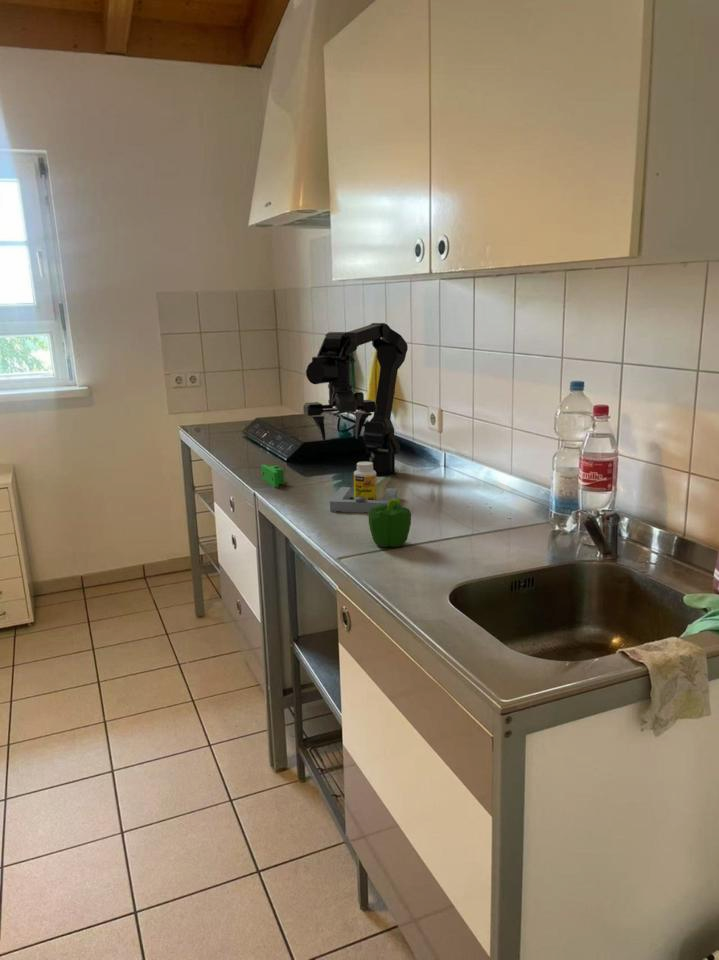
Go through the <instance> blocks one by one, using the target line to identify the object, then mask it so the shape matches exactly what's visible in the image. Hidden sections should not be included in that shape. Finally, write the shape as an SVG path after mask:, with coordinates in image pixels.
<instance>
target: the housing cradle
mask: <svg viewBox="0 0 719 960" xmlns="http://www.w3.org/2000/svg"><path fill="white" fill-rule="evenodd" d="M351 490H352V489H351V487H350V486H349V487H347V486H343V487H340V488H339V489H338V490H337V491H336V493H335V494H334V495H333V497H332V498H331V499H330V500H329V511H335V512H336V511H342V512H341V513H364V512H370V509H372V508H376V507H377V506H378V505H380V504H385V505H388V503H389V501H390V500H392V499H398V488H396V487H395V488H388V487H387V489H386V490H385V492H384V494H383V496H382V498H381V500H377V499H376V500H366V498H365V497H356V500H354V499H350V498H351V496H352V494H351V492H352V491H351ZM394 504H396V503H393V505H394ZM335 512H334V513H335ZM336 513H337V512H336Z"/></svg>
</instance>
